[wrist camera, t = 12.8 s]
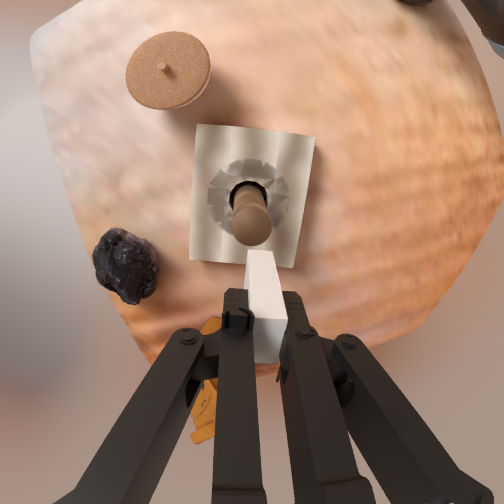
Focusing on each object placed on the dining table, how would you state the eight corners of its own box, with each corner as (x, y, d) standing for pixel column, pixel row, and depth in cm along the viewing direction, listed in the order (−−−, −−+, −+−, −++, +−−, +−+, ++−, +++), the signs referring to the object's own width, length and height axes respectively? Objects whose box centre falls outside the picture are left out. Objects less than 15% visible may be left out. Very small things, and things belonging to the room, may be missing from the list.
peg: (263, 182, 41) (275, 210, 28) (259, 208, 43) (269, 248, 29) (235, 179, 41) (233, 206, 27) (233, 205, 43) (229, 244, 29)
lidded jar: (228, 61, 33) (225, 43, 25) (194, 123, 37) (180, 121, 28) (165, 38, 31) (146, 18, 22) (132, 98, 35) (106, 93, 26)
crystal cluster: (122, 299, 50) (110, 334, 41) (80, 245, 44) (58, 274, 35) (177, 271, 49) (172, 306, 40) (135, 208, 43) (119, 233, 34)
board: (309, 136, 38) (315, 137, 35) (289, 258, 47) (292, 268, 44) (200, 124, 37) (196, 123, 34) (192, 249, 45) (189, 259, 42)
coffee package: (181, 346, 54) (163, 437, 34) (211, 307, 50) (199, 408, 30) (222, 365, 57) (218, 455, 37) (256, 330, 53) (263, 428, 33)
